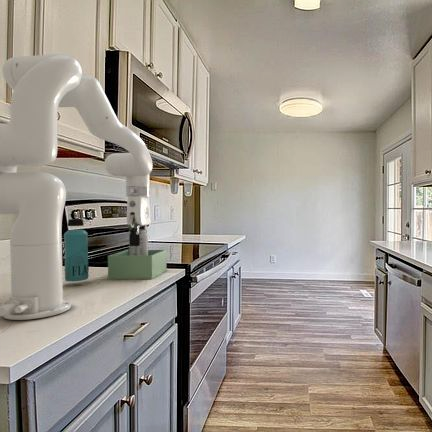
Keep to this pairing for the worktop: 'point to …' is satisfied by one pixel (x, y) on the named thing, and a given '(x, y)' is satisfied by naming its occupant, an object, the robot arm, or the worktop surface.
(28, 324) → the worktop surface
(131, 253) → the energy drink can
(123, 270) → the green storage box
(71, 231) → the beverage bottle
